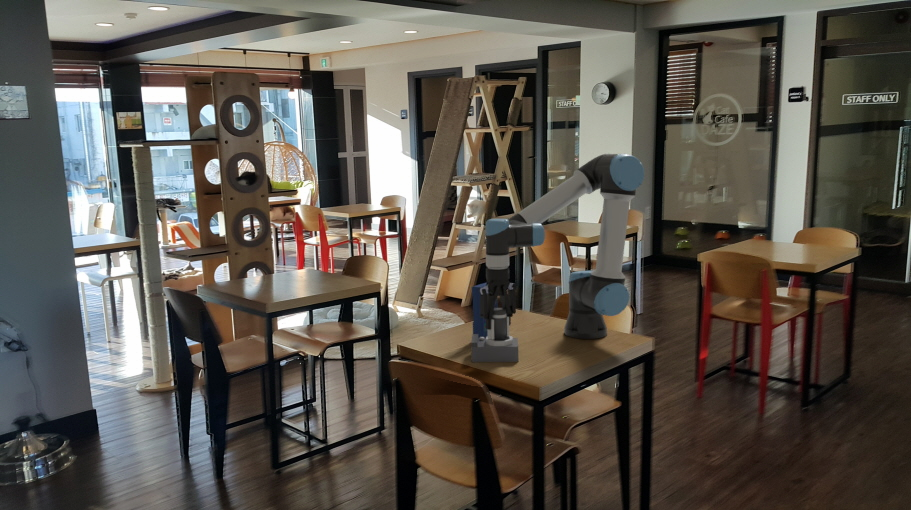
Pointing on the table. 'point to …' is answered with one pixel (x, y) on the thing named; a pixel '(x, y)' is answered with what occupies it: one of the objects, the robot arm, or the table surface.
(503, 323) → the lens
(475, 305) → the electronic device
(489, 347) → the camera body
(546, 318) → the table surface
